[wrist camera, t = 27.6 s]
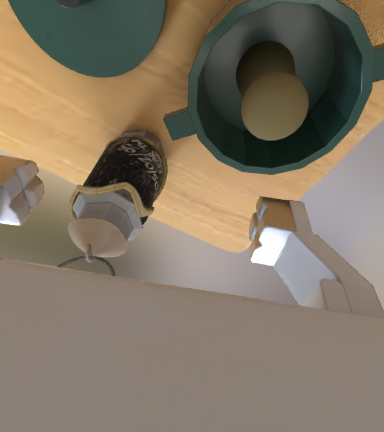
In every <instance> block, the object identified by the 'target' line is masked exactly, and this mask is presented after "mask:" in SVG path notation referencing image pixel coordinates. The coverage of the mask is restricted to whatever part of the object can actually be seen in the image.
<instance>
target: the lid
mask: <svg viewBox="0 0 384 432" xmlns="http://www.w3.org/2000/svg"><path fill="white" fill-rule="evenodd" d="M8 1H9V3H10V5H11V8H12V9H13V11H14V13H15V15H16V16H17V18H18V20H19V21H20V23H21V24H22V26H23V27H24V29H25V30H26V31H27V33H28V34H29V35H30V36H31V38H32V39H33V40H34V41H35V42H36V43H37V44H38V45H39V46H40V48H41V49H42V50H44V51H45V52H46V53H47V54H48V55H49V56H50V57H52V58H53V59H54V60H56V61H57V62H59V63H60V64H62V65H63V66H65V67H67V68H69V69H71V70H73V71H75V72H78V73H81V74H84V75H87V76H93V77H113V76H117V75H121V74H124V73H126V72H128V71H130V70H132V69H133V68H135V67H136V66H137V65H139V64H140V63H141V62H142V61H143V60H144V59H145V58H146V57H147V55H148V54H149V53H150V51H151V50H152V49H153V47H154V45H155V43H156V42H157V40H158V37H159V35H160V32H161V29H162V26H163V22H164V18H165V11H166V1H167V0H8Z"/></svg>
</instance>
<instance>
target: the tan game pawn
mask: <svg viewBox="0 0 384 432" xmlns="http://www.w3.org/2000/svg"><path fill="white" fill-rule="evenodd" d="M236 82H237V86H238V89H239V91H240V93H241V95H242V97H243V100H242V108H241V115H242V119H243V122H244V125H245V126H246V127H247V129H248V130H249V132H250V133H251V134H253V135H254V136H256V137H257V138H260V139H263V140H279V139H282V138H285V137H287V136H289V135H290V134H292V133H294V132H295V131H296V130H297V129H298V128H299V127H300V126H301V125H302V123H303V121H304V119H305V117H306V115H307V110H308V105H309V101H308V93H307V91H306V89H305V87H304V86H303V84H302V82H301V81H300V80H299V79H297V78H296V74H295V64H294V58H293V56H292V54H291V52H290V50H289V49H288V48H287V47H285V46H284V45H283V44H282V43H279V42H276V41H262V42H260V43H257V44H255V45H253V46H252V47H250V48H249V49H248V50H247V51H246V52H245V53H244V54H243V56H242V57H241V59H240V60H239V63H238V66H237V69H236Z"/></svg>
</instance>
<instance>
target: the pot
mask: <svg viewBox="0 0 384 432" xmlns="http://www.w3.org/2000/svg"><path fill="white" fill-rule="evenodd" d="M262 41H276V42H279V43H282V44H283V45H284V46H285V47H287V48H288V49H289V50H290V52H291V54H292V56H293V58H294V64H295V74H296V78H297V79H299V80H300V81H301V82H302V84H303V86H304V87H305V89H306V91H307V93H308V101H309V105H308V110H307V115H306V117H305V119H304V121H303V123H302V125H301V126H300V127H299V128H298V129H297V130H296V131H295V132H294V133H292V134H290V135H289V136H287V137H285V138H282V139H279V140H263V139H260V138H257V137H256V136H254V135H253V134H251V133H250V132H249V130H248V129H247V127H246V126H245V125H244V122H243V119H242V115H241V108H242V100H243V97H242V95H241V93H240V91H239V89H238V86H237V82H236V69H237V66H238V63H239V60H240V59H241V57H242V56H243V54H244V53H245V52H246V51H247V50H248V49H249V48H250V47H252V46H253V45H255V44H257V43H260V42H262ZM383 79H384V43H383V44H380V45H377V46H374V47H373V46H372V44H371V42H370V40H369V37H368V35H367V33H366V31H365V28H364V26H363V24H362V22H361V20H360V17H359V15H358V14H357V13H356V12H355V11H353V10H352V9H351V8H349V7H348V6H346V5H345V4H343V3H342V2H340V1H339V0H231V1H230V2H229V3H228V4H227V5H226V6H225V7H224V8H223V9H222V10H221V11H220V12H219V13H218V14H217V15H216V16H215V18H214V19H213V20H212V21H211V23H210V25H209V27H208V30H207V32H206V34H205V37H204V39H203V41H202V44H201V46H200V48H199V51H198V53H197V56H196V58H195V61H194V63H193V66H192V68H191V71H190V73H189V83H188V107H187V108H183V109H180V110H177V111H174V112H171V113H168V114H165V116H164V118H163V120H164V122H165V124H166V126H167V129H168V131H169V133H170V136H171V138H172V140H177V139H180V138H183V137H187V136H190V135H194V134H197V137H198V139H199V140H200V141H201V142H202V144H203V145H204V146H205V147H206V148H207V149H208V150H209V151H210V152H211V153H212V154H213V155H214V157H215V158H216V159H217V160H219V161H221V162H223V163H225V164H227V165H229V166H231V167H233V168H235V169H237V170H239V171H242V172H248V173H259V174H269V175H273V174H278V173H282V172H287V171H291V170H296V169H300V168H303V167H304V166H306V165H308V164H310V163H312V162H313V161H315V160H317V159H319V158H320V157H322V156H324V155H326V154H327V153H329V152H330V151H332V150H333V149H334V148H335V146H336V145H337V144H338V143H339V142H340V141H341V140H342V139H343V138H344V137H345V136H346V135H347V134H348V133H349V132H350V131H351V130H352V128H353V127H354V126H355V125H356V124H357V121H358V119H359V117H360V115H361V113H362V111H363V108H364V106H365V104H366V102H367V100H368V98H369V95H370V93H371V91H372V83H373V82H376V81H380V80H383Z"/></svg>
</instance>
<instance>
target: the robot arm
mask: <svg viewBox="0 0 384 432" xmlns="http://www.w3.org/2000/svg"><path fill="white" fill-rule="evenodd" d="M38 172H39V170H38V167H37V165H36V163H35V162H33V161H31V160H25V159H20V158H14V157H8V156H2V155H0V223H4V224H12V225H19V226H20V225H22V224H23V223H24V222H25V220H26V219H27V218H28V217H29V216H30V214H31V208H33V207H35V206H37V205H38V204H39V203H40V202H41V200H42V198H43V194H44V186H43V183H42V181H41V180H40V179H39V178H38V177H37V176H36V175H37V174H38ZM256 209H257V212H255V213H254V214H253V216H252V219H251V223H250V228H249V239H250V240H251V241H252V243H251V246H250V258H251V262H254V263H259V264H265V265H271V266H274V268H275V270H276V271H277V273H278V274H279V275H280V277H281V278H282V280H283V281H284V283H285V284H286V286H287V287H288V289H289V290H290V291H291V293H292V294H293V296H294V297H295V299H296V300H297V302H298V303H299V305H293V304H288V303H281V302H275V301H269V300H262V299H256V298H250V297H243V296H237V295H230V294H224V293H218V292H212V291H206V290H199V289H193V288H186V287H180V286H174V285H168V284H162V283H155V282H149V281H143V280H136V279H130V278H124V277H117V276H111V275H104V274H98V273H92V272H85V271H79V270H73V269H67V268H61V267H54V266H47V265H41V264H35V263H29V262H23V261H16V260H10V259H4V258H0V432H384V311H383V308H382V306H381V304H380V301H379V299H378V297H377V294H376V292H375V290H374V287H373V285H371V283H369V282H368V281H367V280H366V279H365V278H364V277H363V276H362V275H361V274H360V273H358V271H356V270H355V269H354V268H353V267H352V266H351V265H350V264H349V263H348V262H346V261H345V260H344V259H343V258H342V257H341V256H340V255H339V254H338V253H337V252H336V251H334V250H333V249H332V248H331V247H330V246H329V245H328V244H327V243H326V242H325V241H324V240H322V239H321V238H320V237H319V236H318V235H315V234H313V232H312V229H311V225H310V222H309V219H308V215H307V212H306V209H305V205H304V203H303V202H300V201H292V200H281V199H275V198H268V197H261V196H260V197H259V199H258V201H257V204H256Z"/></svg>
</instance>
